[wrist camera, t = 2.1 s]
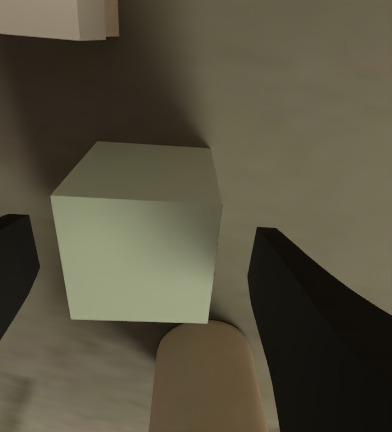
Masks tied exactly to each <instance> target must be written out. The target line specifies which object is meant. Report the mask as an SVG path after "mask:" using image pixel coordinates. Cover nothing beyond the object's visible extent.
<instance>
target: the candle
mask: <svg viewBox="0 0 392 432" xmlns="http://www.w3.org/2000/svg"><path fill="white" fill-rule="evenodd" d="M149 432H268V430H267V425H266V420H265V415H264V410H263V405H262V400H261V395H260V390H259V386H258V381H257V376H256V371H255V366H254V361H253V357H252V352H251V348H250V345H249V343H248V340H247V338H246V337H245V335H244V334H243V333H242V332H241V331H240V330H238V329H237V328H235V327H234V326H232V325H230V324H227V323H224V322H220V321H214V320H208V324H205V323H184V324H181V325H179V326H177V327H175V328H173V329H172V330H170V331H169V332H168V333H167V334H166V335H165V336H164V337H163V338H162V340H161V342H160V344H159V347H158V351H157V356H156V365H155V374H154V385H153V395H152V405H151V415H150V426H149Z"/></svg>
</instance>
